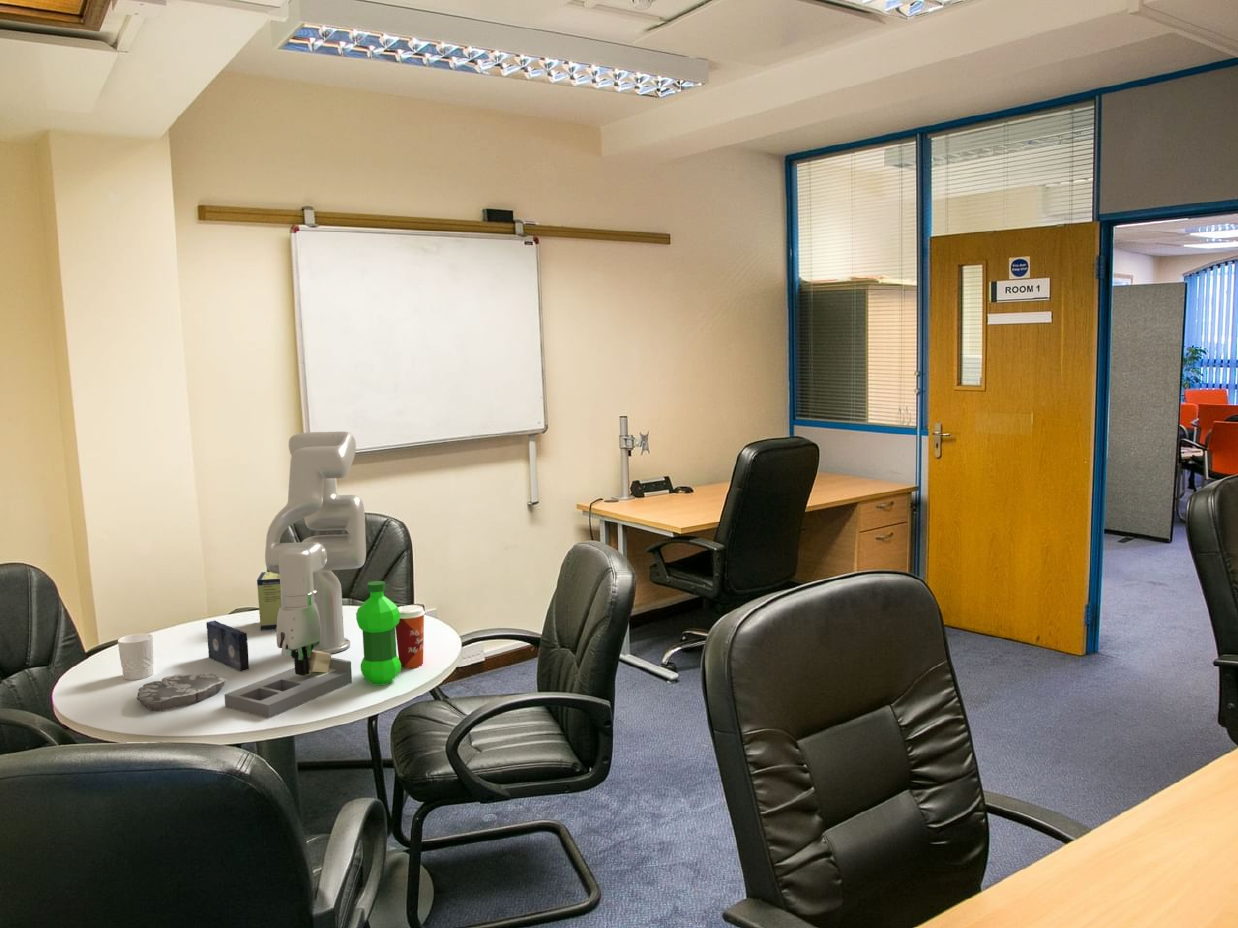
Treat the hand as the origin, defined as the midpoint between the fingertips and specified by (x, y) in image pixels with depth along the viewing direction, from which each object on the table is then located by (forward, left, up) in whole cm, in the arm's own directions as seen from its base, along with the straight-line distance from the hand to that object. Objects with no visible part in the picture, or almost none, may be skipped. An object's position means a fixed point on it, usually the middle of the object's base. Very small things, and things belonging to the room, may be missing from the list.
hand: (302, 673), depth 225 cm
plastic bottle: (+13, +13, -4) cm, 19 cm away
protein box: (-49, +38, -4) cm, 62 cm away
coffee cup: (+11, +26, -4) cm, 28 cm away
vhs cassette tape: (-34, +5, -4) cm, 34 cm away
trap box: (0, -4, -4) cm, 5 cm away
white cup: (-47, -12, -4) cm, 48 cm away
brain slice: (-24, -17, -5) cm, 30 cm away
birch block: (0, +4, 0) cm, 4 cm away
